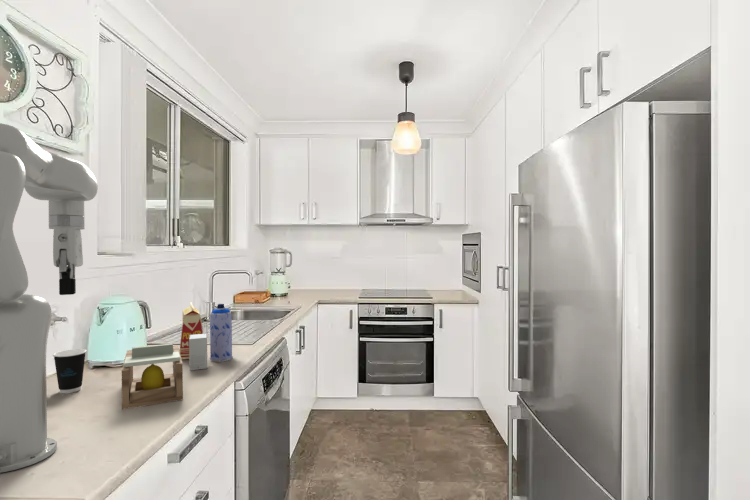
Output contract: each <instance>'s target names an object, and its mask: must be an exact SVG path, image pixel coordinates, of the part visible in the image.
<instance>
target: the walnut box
mask: <svg viewBox="0 0 750 500" xmlns="http://www.w3.org/2000/svg"><path fill="white" fill-rule="evenodd" d="M179 349H180V346H179V345H178V344H177V345H173V352H179V355H180V351H179ZM126 357H132V349H129V350H126V353H125V357H124V360H123V363H122V368H121V410H126V409H131V408H138V407H139V408H140V407H142V406H143V407H144V406H150V405H156V404H157V405H158V404H164V403H169V401H171V402H177V401H182V400H181V399H184V390H183V389H184V386H183V384H184V381H183V377H184V376H183V359H181V355H180V361H174V362H172V369H173V370H172V373H167V374H165V373H164V382H163V385H162V387H161V388H155V389H148V390H145V389H144V388H143V387H142V383H141V378H142V377H136V378H135V377H134V366H131V367H124V363H125V359H126ZM176 400H177V401H176Z"/></svg>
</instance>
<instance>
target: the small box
mask: <svg viewBox="0 0 750 500" xmlns="http://www.w3.org/2000/svg"><path fill="white" fill-rule="evenodd" d="M188 363H189V364H188V365H189V371H196V370H205V369H208V335H207V333H203V334H195V335H190V338H189V359H188Z"/></svg>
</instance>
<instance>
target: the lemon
mask: <svg viewBox="0 0 750 500" xmlns="http://www.w3.org/2000/svg"><path fill="white" fill-rule="evenodd" d="M164 375H165V373H164V370H163V368H162V367H160V366H159V365H157V364H150V365H148V366H147V367H146V368H145V369H144V370H143V372H142V374H141V377H140V378H141V383H142V387H143V388H144V389H145V390H148V389H155V388H161V387H162V385H163V382H164Z"/></svg>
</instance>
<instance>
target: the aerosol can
mask: <svg viewBox="0 0 750 500" xmlns="http://www.w3.org/2000/svg"><path fill="white" fill-rule="evenodd" d="M232 316H233V314H232V311H231V310H230V309H229V308H227V307H226V306H225V304H224V303H218V304H217V307H215V308H214V309H213V310H212V311H211V312H210V313H209V333H210V334H209V337H210V338H209V340H210V341H209V343H210V345H209V346H210V347H209V349H210V352H209V353H210V358H209V361H211V362H226V361H231V360H232V359H233V357H234V356H233V327H232V326H233V325H232V324H233V318H232Z"/></svg>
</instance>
